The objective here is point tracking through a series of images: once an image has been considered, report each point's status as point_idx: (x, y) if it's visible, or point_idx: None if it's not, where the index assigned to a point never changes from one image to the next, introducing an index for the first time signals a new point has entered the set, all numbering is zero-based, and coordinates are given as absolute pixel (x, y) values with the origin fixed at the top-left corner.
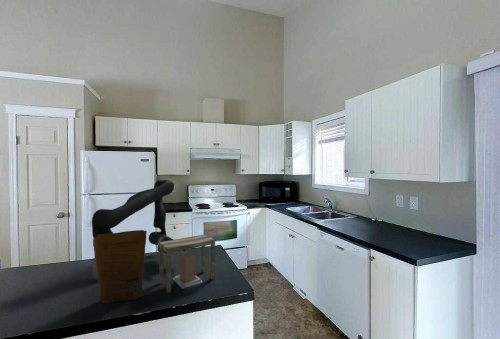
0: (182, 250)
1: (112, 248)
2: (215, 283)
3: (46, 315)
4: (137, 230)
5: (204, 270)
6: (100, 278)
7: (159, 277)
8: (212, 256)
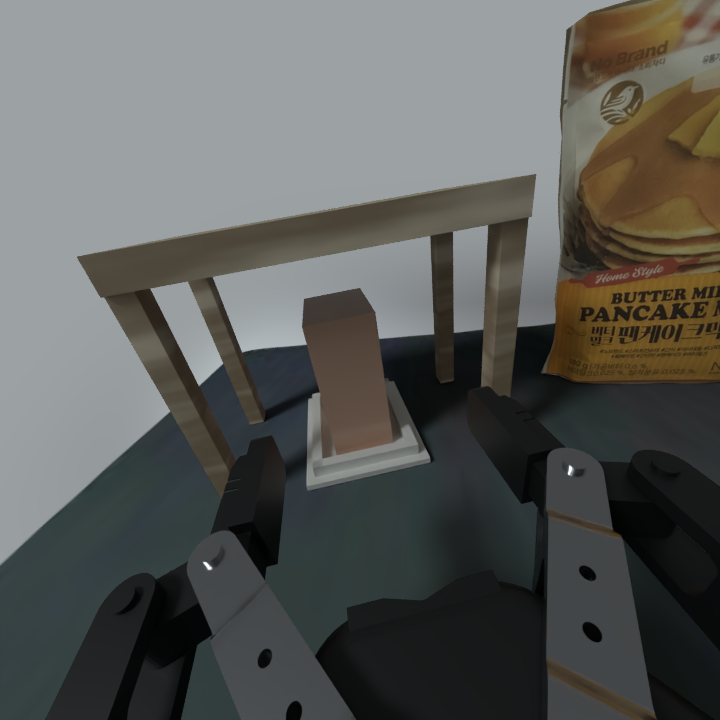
0: (282, 509)
1: None
2: (275, 391)
3: None
4: (623, 3)
5: None
6: None
7: None
8: (228, 322)
